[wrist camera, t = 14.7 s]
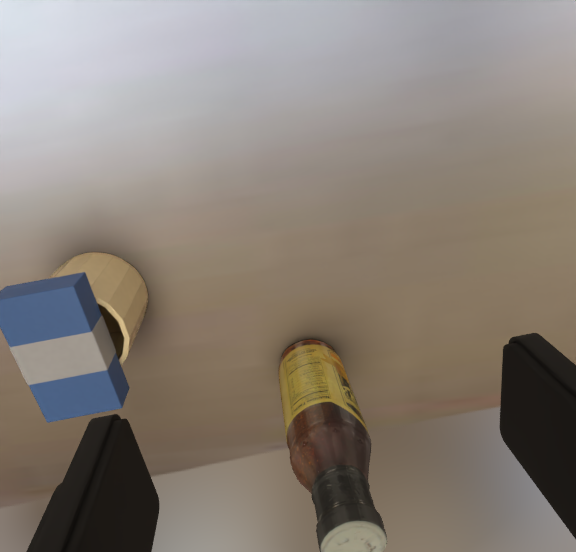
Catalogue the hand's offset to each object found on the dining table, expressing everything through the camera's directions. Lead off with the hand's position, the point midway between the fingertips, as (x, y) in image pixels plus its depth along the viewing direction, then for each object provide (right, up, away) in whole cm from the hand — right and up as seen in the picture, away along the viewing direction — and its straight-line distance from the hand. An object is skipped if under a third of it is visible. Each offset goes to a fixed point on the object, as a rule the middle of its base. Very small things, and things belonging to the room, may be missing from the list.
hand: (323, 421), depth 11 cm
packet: (-17, -1, +21) cm, 27 cm away
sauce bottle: (+1, -5, +33) cm, 34 cm away
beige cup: (-17, +2, +28) cm, 33 cm away
